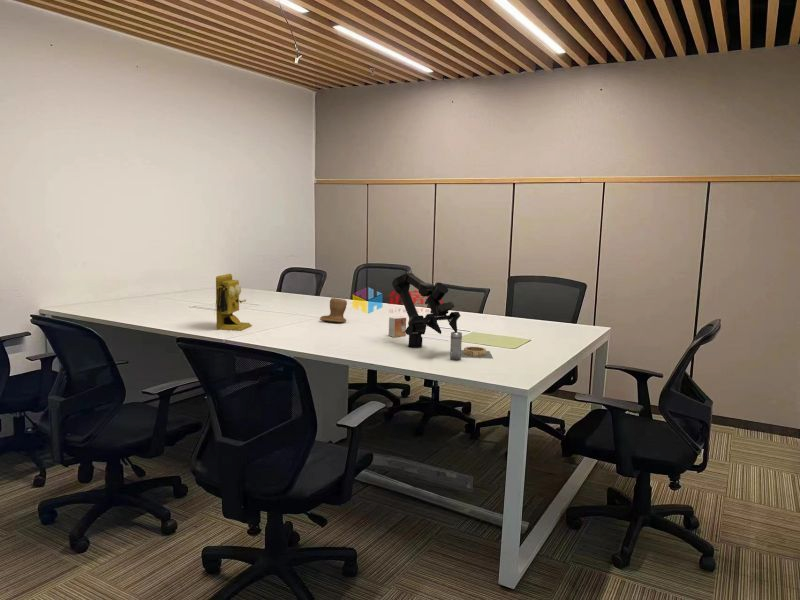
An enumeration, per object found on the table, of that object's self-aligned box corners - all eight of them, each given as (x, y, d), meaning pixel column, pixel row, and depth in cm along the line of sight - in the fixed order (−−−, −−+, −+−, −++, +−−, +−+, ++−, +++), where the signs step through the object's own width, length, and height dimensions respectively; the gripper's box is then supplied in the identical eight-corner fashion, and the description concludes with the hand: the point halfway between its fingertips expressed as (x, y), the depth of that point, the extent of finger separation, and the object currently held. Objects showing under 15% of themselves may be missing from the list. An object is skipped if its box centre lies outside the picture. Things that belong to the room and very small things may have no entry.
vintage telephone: (234, 334, 322) (233, 279, 318) (209, 332, 324) (209, 277, 320) (256, 324, 353) (256, 273, 349) (234, 322, 355) (234, 272, 351)
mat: (459, 358, 279) (459, 357, 279) (457, 351, 295) (457, 349, 295) (493, 359, 279) (493, 358, 279) (489, 352, 295) (489, 351, 295)
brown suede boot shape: (350, 321, 370) (350, 297, 368) (341, 324, 359) (341, 299, 357) (328, 319, 376) (329, 295, 374) (319, 322, 365) (319, 298, 363)
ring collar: (464, 356, 282) (464, 351, 282) (463, 351, 292) (463, 346, 292) (486, 356, 282) (486, 351, 281) (484, 352, 292) (484, 347, 292)
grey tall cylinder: (450, 361, 273) (451, 333, 271) (449, 359, 278) (450, 331, 276) (461, 362, 273) (462, 334, 271) (460, 359, 278) (461, 332, 276)
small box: (394, 337, 324) (394, 318, 323) (388, 335, 329) (388, 317, 327) (406, 336, 329) (406, 317, 327) (400, 334, 333) (400, 316, 332)
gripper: (427, 296, 276) (440, 324, 268) (458, 295, 286) (472, 321, 278) (417, 311, 284) (429, 338, 276) (448, 309, 293) (461, 334, 286)
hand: (448, 332), depth 279 cm, fingers open, 9 cm apart
